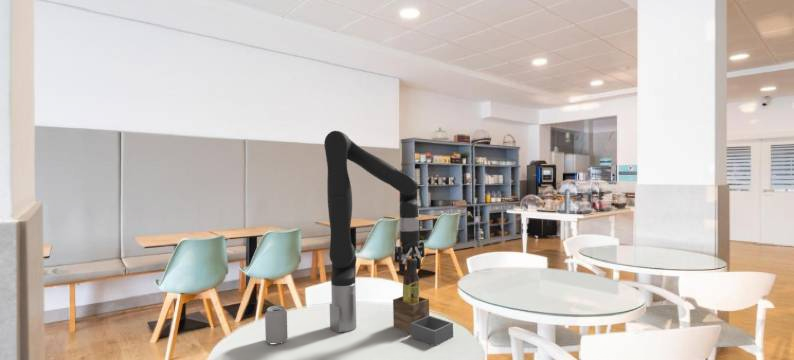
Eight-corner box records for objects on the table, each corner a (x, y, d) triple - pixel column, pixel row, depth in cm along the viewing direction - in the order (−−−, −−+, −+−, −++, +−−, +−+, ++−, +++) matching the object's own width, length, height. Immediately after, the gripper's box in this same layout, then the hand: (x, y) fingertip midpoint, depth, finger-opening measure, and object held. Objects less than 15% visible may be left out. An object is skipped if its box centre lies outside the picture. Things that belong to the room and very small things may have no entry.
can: (267, 347, 136) (266, 312, 135) (264, 339, 142) (263, 306, 142) (289, 342, 139) (288, 309, 139) (285, 335, 146) (284, 303, 145)
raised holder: (413, 333, 144) (412, 305, 144) (393, 326, 152) (393, 299, 151) (429, 326, 151) (428, 299, 151) (410, 320, 158) (409, 294, 158)
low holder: (434, 346, 134) (434, 331, 134) (410, 336, 142) (410, 323, 142) (453, 336, 141) (452, 323, 141) (429, 328, 149) (429, 315, 149)
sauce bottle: (412, 314, 147) (413, 261, 146) (399, 311, 150) (399, 259, 150) (422, 310, 152) (422, 258, 152) (409, 306, 156) (409, 256, 155)
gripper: (414, 226, 158) (415, 266, 159) (389, 230, 148) (390, 273, 149) (429, 227, 153) (429, 269, 153) (403, 232, 143) (404, 276, 143)
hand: (410, 271), depth 151 cm, fingers open, 8 cm apart
